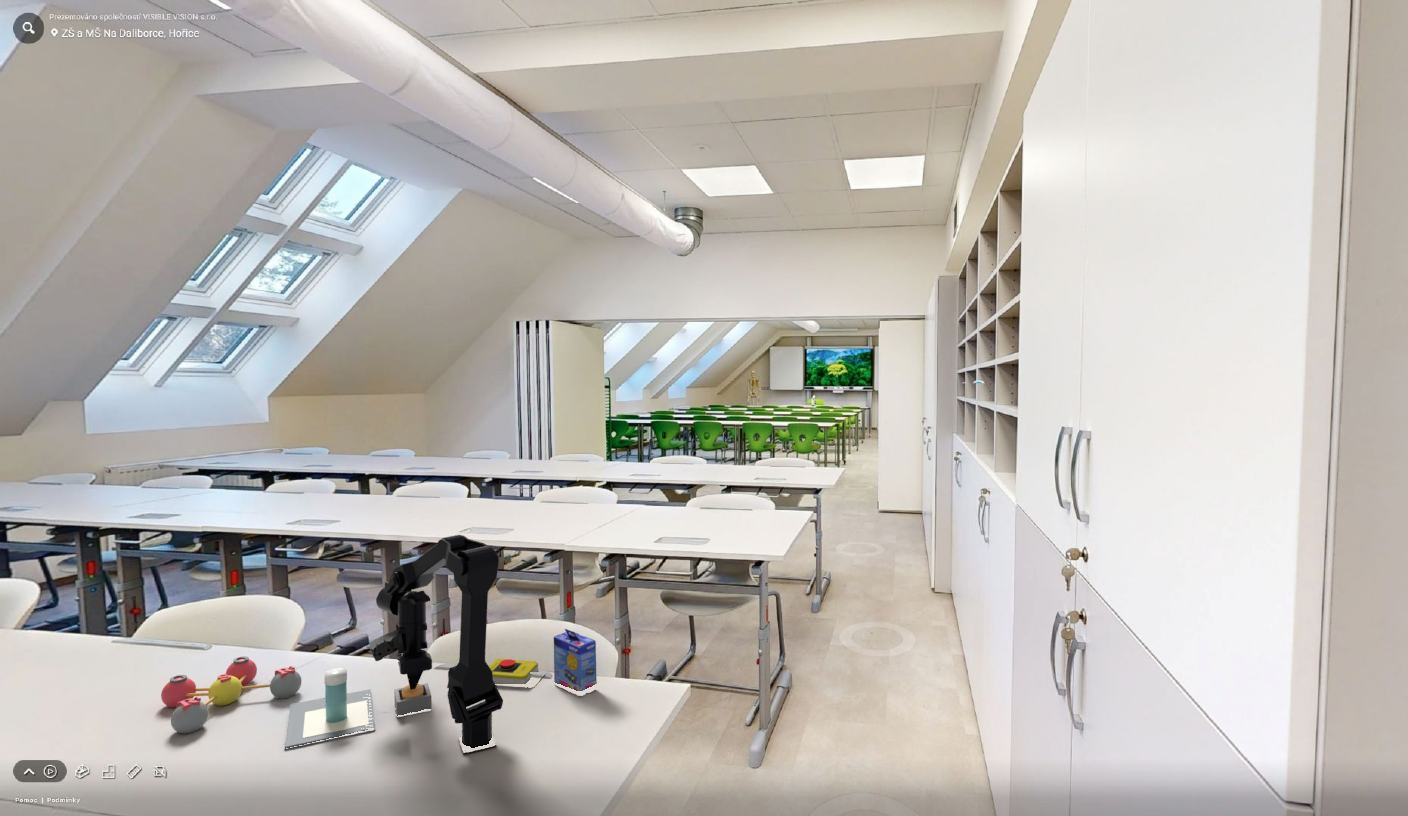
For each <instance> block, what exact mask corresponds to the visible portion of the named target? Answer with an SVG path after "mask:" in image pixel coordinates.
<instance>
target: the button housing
mask: <svg viewBox="0 0 1408 816" xmlns="http://www.w3.org/2000/svg"><path fill="white" fill-rule="evenodd" d="M421 685H423V696H419V697H414V698H409V699H404V700H402V689H403V688H404V687H400V688H395V689H394V690H393V691H394V693H393V694H394V698H393V699H394V709H395V708H396V710H395V714H397V716H398V715H404V714H407V713H410V712H411V713H412V712H418V711H421V710H424V709H432V705H433V704H432V703H433V702H432V693H431V690H430V687H429V683H428V682H427V683H421ZM397 716H396V717H397Z"/></svg>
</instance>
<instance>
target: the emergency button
mask: <svg viewBox="0 0 1408 816" xmlns="http://www.w3.org/2000/svg"><path fill="white" fill-rule="evenodd" d="M488 666H489V667H490V669H491V670H492V673H493V681H494V683H495V684H526V683H527V682H528V681H529V680H530V678H531V677H530V676H531V675H532V674H530V672H545V671H542V670H539V663H538V661H535V660H524V659H523V660H521V659H512V658H511V659H510V658H509V659H508V658H507V659H506V658H496V659H495V660H493V661H492V662H491V663H490V664H489V665H488Z"/></svg>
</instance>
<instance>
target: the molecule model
mask: <svg viewBox="0 0 1408 816" xmlns="http://www.w3.org/2000/svg"><path fill="white" fill-rule="evenodd" d="M257 671H258V667H257V664H256V663H255V662H254V661H253V660H251V659H250V657H249V656H240V657H236V658H234V659H233V662H231V663H230V664H229V666H228V667H227V669H226V671H225V673H224V674H223V673H222V674H220V675H217V676H216V677H217V678H216V680H215V681H213V682H212V683H211V685H210V686H209V687H197V685H196V682H194V681H193V679H191V678H189V677H188V676H187V675H186V674H178V675H175V676H172V677H170V678H169V681H168V682H167V683H166V684H165V685H164V686H163V688H162V690H161V693H160V698H161V701H162V703H163V704H164V705H165V706H167V707H169V708H175V709H174V711H173V712H172V714H171V716H170V717H171V718H170V725H171V727H172V729H173V730H174V731H176V732H177V733H178V734H179V733H180V734H190V733H191V734H192V733H193V732H196V731H198V730H200V729H201V728H202V727H203V726H204V725H205V723H206V722H207V720H208V716H209V709H208V707H207V706H208V705H210V704H211V703H212V704H214V705H215V706H221V707H222V706H223V707H224V706H227V705H231V704H232V703H234V702H235V701H237V699H238V698H239V697H240V695H241V693H242V690H252V689H262V688H264V689H265V688H269V690H270V693H271V695H272V696H274V697H275V698H277V699H280V698H281V699H288V697H289V698H291V697H292V696H294V695H296V694H297V693H298V692H299V690H300V688H301V686H302V676H301V674H300V673H299V672H297V670H296V667H295V666H293V665H291V666H289V667H283V668H279V669H276V670H274V676H273V677H272V679H271V681H270V683H267V684H266V683H265V684H257V685H249V684H250V683H251V682H252V681H253V680H254V679H255V677H256V676H257V673H258V672H257ZM206 696H207V697H208V700H207V701H206V702H202V699H201V697H206Z"/></svg>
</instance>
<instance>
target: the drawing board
mask: <svg viewBox="0 0 1408 816" xmlns="http://www.w3.org/2000/svg"><path fill="white" fill-rule="evenodd" d="M371 690H372V689H370V688H369V689H364V690H358V691H353V692H347V717H346V718H345V719H344V720H342V721H340V722H335V723H328V722H326V702H325V697H321V698H315V699H311V700H304V701H299V702H294V703H293V702H292V703H290V706H289V714H288V720H287V727H286V736H285V741H284V750H285V749H286V748H290V747H294V746H299V745H304V744H307V743H312V742H316V741H320V740H326V739H329V738H334V737H339V736H342V735H345V734H351V733H354V732H356V731H357V732H358V731H365V730H368V729H366V728H375V722H374V721H375V720H374V719H375V718H374V709H373V702H369V700H371V699H372V692H371ZM366 694H368V695H366ZM369 694H371V696H369ZM363 697H371V699H368V698H363ZM365 700H366V701H365ZM367 700H368V701H367ZM367 703H368V704H367ZM369 703H372V705H369ZM367 706H368V707H367ZM369 706H372V707H369ZM369 709H373V710H369ZM369 712H373V713H370V715H373V716H372V717H369V716H368V715H369ZM368 718H374V719H372V720H368ZM369 722H373V723H369ZM365 725H373V727H372V726H371V727H370V726H367V727H366V726H365ZM361 728H362V729H361ZM363 728H364V729H363Z"/></svg>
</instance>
